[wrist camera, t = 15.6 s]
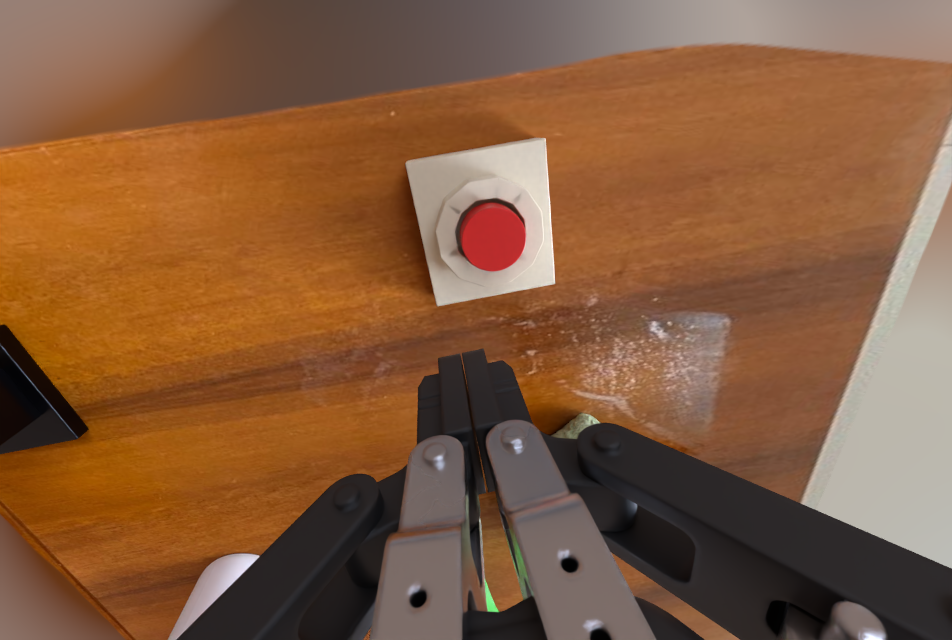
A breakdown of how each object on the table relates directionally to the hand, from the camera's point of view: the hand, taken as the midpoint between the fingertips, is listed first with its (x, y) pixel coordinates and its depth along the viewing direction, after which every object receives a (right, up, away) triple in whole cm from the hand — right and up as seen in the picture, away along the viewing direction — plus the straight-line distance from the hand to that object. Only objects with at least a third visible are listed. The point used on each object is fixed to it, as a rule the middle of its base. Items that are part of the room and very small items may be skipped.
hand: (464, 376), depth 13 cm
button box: (+1, +9, +16) cm, 18 cm away
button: (+1, +7, +13) cm, 15 cm away
